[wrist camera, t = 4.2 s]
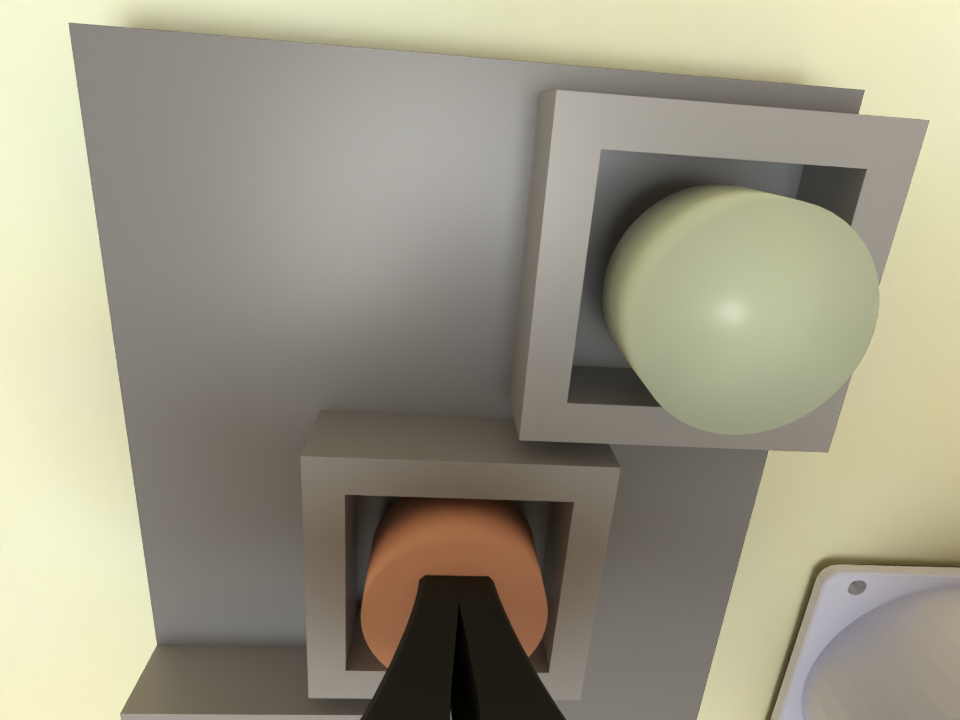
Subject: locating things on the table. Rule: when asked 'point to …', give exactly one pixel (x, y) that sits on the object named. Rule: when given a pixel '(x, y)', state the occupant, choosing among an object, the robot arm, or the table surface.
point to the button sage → (740, 306)
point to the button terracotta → (451, 564)
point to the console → (425, 345)
